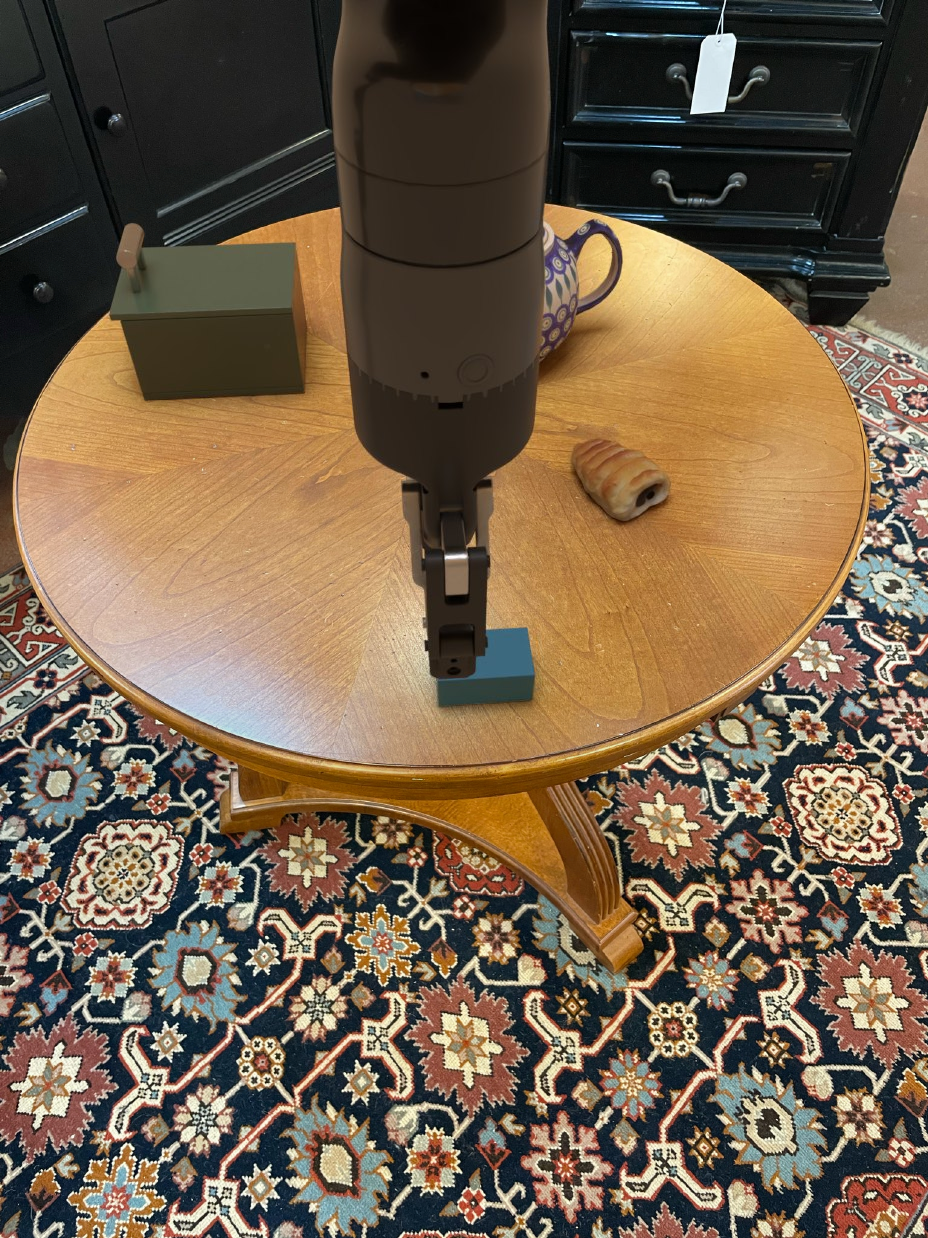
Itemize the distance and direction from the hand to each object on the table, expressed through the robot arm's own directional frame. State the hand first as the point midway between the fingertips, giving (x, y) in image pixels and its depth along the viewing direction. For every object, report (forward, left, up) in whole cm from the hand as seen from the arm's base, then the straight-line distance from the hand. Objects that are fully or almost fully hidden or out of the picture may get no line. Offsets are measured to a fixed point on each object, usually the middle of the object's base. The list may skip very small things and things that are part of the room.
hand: (446, 605), depth 49 cm
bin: (-19, +53, -21) cm, 60 cm away
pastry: (+17, +31, -21) cm, 41 cm away
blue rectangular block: (+3, +11, -21) cm, 24 cm away
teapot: (+9, +54, -21) cm, 58 cm away
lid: (-19, +53, -12) cm, 57 cm away
